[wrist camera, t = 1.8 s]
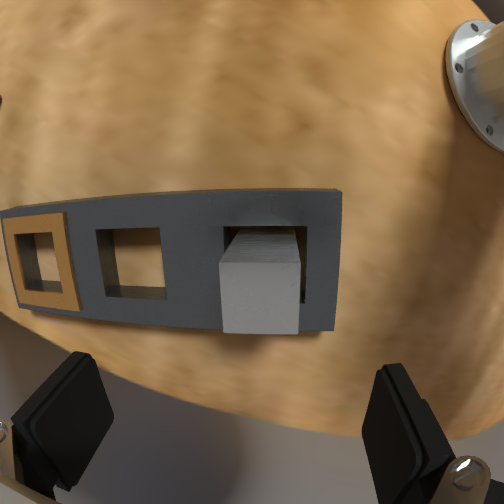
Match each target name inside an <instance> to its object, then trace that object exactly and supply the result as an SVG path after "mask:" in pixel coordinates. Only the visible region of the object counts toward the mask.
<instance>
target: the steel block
mask: <svg viewBox="0 0 504 504" xmlns="http://www.w3.org/2000/svg"><path fill="white" fill-rule="evenodd" d="M300 270H301V262H300V257H299V251H298V246H297V241H296V236H295V231H294V229H240V230H239V231H238V233H237V234H236V236H235V238H234V239H233V241H232V242H231V244H230V246H229V247H228V249H227V250H226V252H225V253H224V255H223V257H222V258H221V260H220V261H219V274H220V290H221V305H222V319H223V333H240V334H298V325H299V301H300Z"/></svg>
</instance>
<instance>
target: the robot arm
mask: <svg viewBox="0 0 504 504" xmlns="http://www.w3.org/2000/svg"><path fill="white" fill-rule="evenodd" d="M445 61H446V70H447V75H448V79H449V83H450V87H451V89H452V92H453V95H454V98H455V100H456V102H457V104H458V106H459V108H460V110H461V112H462V114H463V115H464V117H465V118H466V120H467V122H468V123H469V125H470V126H471V127H472V128H473V130H474V131H475V132H476V133H477V135H478V136H479V137H480V138H481V139H483V140H484V141H485V142H486V143H487V144H488V145H490V146H491V147H493V148H494V149H496V150H498V151H500V152H503V153H504V21H503V22H502V23H500V24H498V25H495V24H493V23H491V22H488V21H485V20H476V19H474V20H469V21H466V22H464V23H463V24H461V25H459V26H458V27H457V28H456V29H455V30H453V32H452V34H451V35H450V37H449V39H448V43H447V46H446V57H445ZM11 420H12V422H13V423H14V425H13V426H12V427H11V426H10V424H9V423H8V422H7V421H5V420H1V419H0V504H61V503H59V502H57V501H56V499H55V495H54V491H53V487H54V485H55V484H56V485H57V487H59V488H61V489H64V490H66V491H68V492H69V491H70V490H71V488H72V486H75V485H76V484H77V483H78V481H79V480H80V478H81V476H82V474H83V473H84V471H85V469H86V467H87V466H88V464H89V462H90V460H91V459H92V457H93V455H94V453H95V452H96V450H97V448H98V447H99V445H100V443H101V441H102V440H103V438H104V436H105V435H106V433H107V431H108V430H109V428H110V426H111V424H112V423H113V420H114V414H113V411H112V408H111V406H110V403H109V400H108V397H107V394H106V392H105V389H104V386H103V383H102V380H101V377H100V374H99V371H98V368H97V365H96V362H95V360H94V359H93V358H92V356H91V355H90V354H88V353H83V352H78V351H74V352H73V353H72V354H71V355H70V356H69V357H68V358H67V359H66V360H65V361H64V362H63V363H62V364H61V365H60V366H59V367H58V368H57V369H56V370H55V371H54V372H53V373H52V374H51V375H50V376H49V377H48V378H47V380H46V381H45V382H44V383H43V384H42V385H41V386H40V387H39V388H38V389H37V390H36V391H35V392H34V393H33V394H32V395H31V397H30V398H29V399H28V400H27V401H26V402H25V403H24V404H23V405H22V406H21V408H20V409H19V410H18V411H17V412H16V413H15V414H14V415H13V416H12V417H11ZM362 438H363V441H364V445H365V449H366V453H367V456H368V461H369V465H370V469H371V473H372V477H373V481H374V485H375V490H376V494H377V498H378V503H379V504H504V483H502V482H499V481H495V480H492V479H491V472H490V468H489V467H488V465H487V464H486V463H485V462H484V461H483V460H482V459H480V458H477V457H475V456H461V457H459V458H456V457H455V455H454V453H453V451H452V449H451V447H450V445H449V443H448V441H447V439H446V437H445V435H444V433H443V431H442V429H441V427H440V425H439V423H438V421H437V419H436V418H435V416H434V414H433V412H432V410H431V408H430V406H429V405H428V403H427V402H426V400H424V399H421V397H420V395H419V394H418V392H417V390H416V388H415V386H414V385H413V383H412V381H411V379H410V377H409V376H408V374H407V372H406V370H405V368H404V367H403V365H402V364H401V363H396V364H386V365H383V367H382V369H380V370H377V372H376V376H375V380H374V385H373V389H372V393H371V397H370V401H369V404H368V408H367V412H366V415H365V419H364V422H363V426H362Z"/></svg>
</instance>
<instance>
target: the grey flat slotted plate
mask: <svg viewBox="0 0 504 504" xmlns="http://www.w3.org/2000/svg"><path fill="white" fill-rule="evenodd" d="M0 218H1V225H2V232H3V238H4V244H5V250H6V255H7V260H8V265H9V270H10V274H11V279H12V283H13V287H14V291H15V295H16V299H17V302H18V306H19V308H23V309H29V310H34V311H40V312H46V313H53V314H59V315H66V316H73V317H80V318H88V319H96V320H104V321H113V322H122V323H132V324H143V325H154V326H166V327H180V328H196V329H215V330H223V319H222V305H221V290H220V274H219V261H220V260H221V258H222V257H223V255H224V253H225V252H226V250H227V249H228V247H229V246H230V229H229V226H304V272H303V290H300V301H299V325H298V331H334V324H335V314H336V303H337V291H338V278H339V263H340V245H341V221H342V192H341V191H339V190H337V189H314V188H259V189H216V190H191V191H171V192H155V193H140V194H127V195H115V196H103V197H93V198H83V199H73V200H64V201H56V202H48V203H40V204H32V205H25V206H18V207H13V208H10V209H6V210H2V211H0ZM153 227H160V238H161V249H162V259H163V268H164V276H165V285H166V287H143V286H122V285H119V279H118V272H117V266H116V259H115V252H114V244H113V236H112V229H119V228H153ZM40 232H52V236H53V242H54V249H55V255H56V260H57V266H58V271H59V276H60V281H61V282H58V281H45V280H41V275H40V270H39V265H38V260H37V255H36V249H35V243H34V237H33V233H40Z"/></svg>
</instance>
